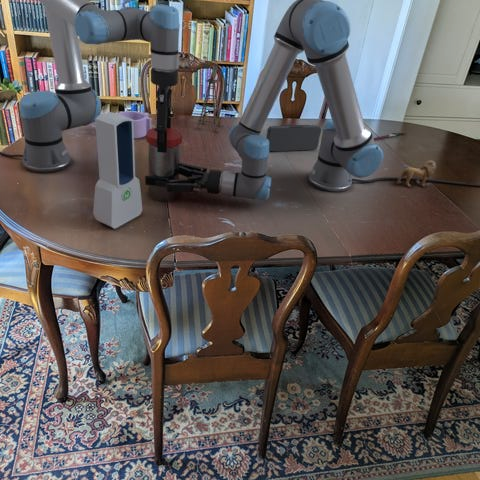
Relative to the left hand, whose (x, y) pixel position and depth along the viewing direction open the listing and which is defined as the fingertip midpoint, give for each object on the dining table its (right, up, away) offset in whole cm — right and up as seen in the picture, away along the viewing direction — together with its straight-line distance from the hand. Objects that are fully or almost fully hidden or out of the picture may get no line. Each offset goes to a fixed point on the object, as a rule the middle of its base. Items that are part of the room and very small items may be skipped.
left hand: (164, 144), depth 140 cm
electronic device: (-12, -22, -6) cm, 26 cm away
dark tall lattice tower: (+9, +21, +64) cm, 68 cm away
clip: (-24, +15, +50) cm, 57 cm away
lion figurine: (+87, -8, +34) cm, 94 cm away
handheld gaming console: (+44, +8, +51) cm, 68 cm away
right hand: (-5, -8, +6) cm, 11 cm away
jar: (-2, -14, +9) cm, 17 cm away
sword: (+89, +18, +73) cm, 117 cm away
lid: (0, +3, -2) cm, 3 cm away
